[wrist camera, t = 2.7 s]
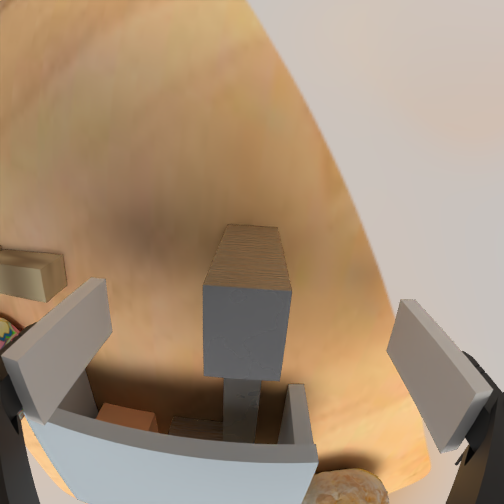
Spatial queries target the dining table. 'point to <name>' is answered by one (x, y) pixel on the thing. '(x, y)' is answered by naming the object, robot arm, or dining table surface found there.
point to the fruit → (346, 488)
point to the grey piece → (242, 329)
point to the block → (128, 417)
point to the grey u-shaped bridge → (175, 458)
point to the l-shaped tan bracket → (31, 274)
